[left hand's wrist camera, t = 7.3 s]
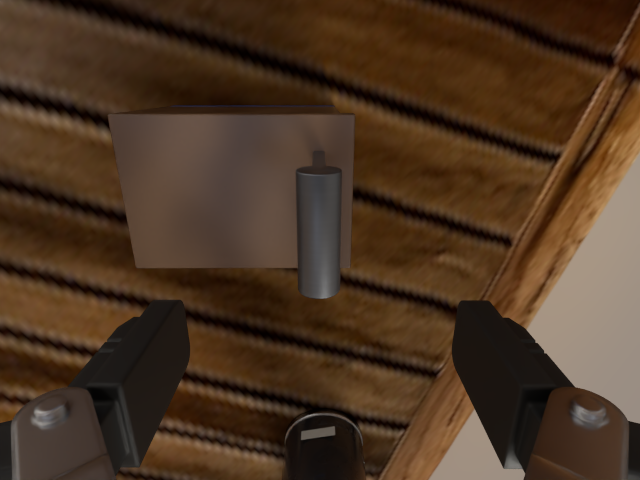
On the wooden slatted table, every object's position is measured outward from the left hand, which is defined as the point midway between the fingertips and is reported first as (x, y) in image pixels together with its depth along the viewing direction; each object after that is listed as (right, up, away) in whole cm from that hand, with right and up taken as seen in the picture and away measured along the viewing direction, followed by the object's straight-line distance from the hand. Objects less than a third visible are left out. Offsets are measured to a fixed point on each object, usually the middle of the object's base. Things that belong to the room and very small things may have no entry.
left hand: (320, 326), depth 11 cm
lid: (-5, +6, +15) cm, 16 cm away
